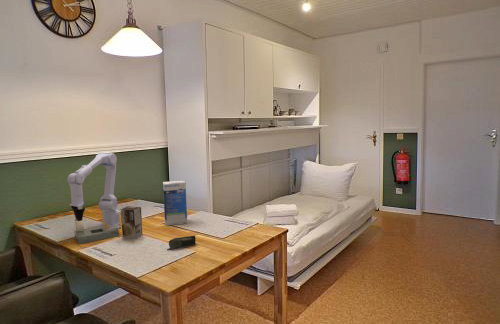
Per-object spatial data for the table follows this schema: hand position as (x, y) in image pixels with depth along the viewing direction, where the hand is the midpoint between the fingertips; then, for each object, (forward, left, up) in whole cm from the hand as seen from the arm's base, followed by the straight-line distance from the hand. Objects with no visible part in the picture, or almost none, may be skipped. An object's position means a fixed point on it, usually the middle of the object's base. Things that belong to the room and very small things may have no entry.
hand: (78, 219), depth 188 cm
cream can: (0, 0, -6) cm, 6 cm away
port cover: (-16, +6, -6) cm, 18 cm away
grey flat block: (-8, +5, -10) cm, 13 cm away
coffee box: (-24, +17, -10) cm, 31 cm away
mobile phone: (-38, +48, -10) cm, 62 cm away
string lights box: (-53, +9, -10) cm, 54 cm away
